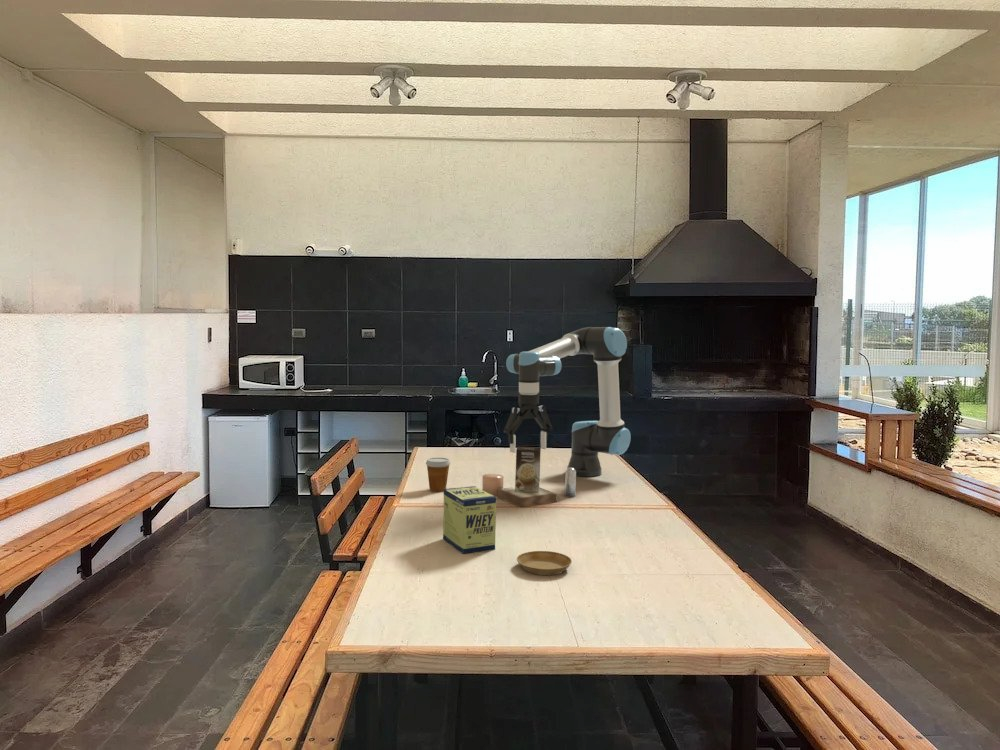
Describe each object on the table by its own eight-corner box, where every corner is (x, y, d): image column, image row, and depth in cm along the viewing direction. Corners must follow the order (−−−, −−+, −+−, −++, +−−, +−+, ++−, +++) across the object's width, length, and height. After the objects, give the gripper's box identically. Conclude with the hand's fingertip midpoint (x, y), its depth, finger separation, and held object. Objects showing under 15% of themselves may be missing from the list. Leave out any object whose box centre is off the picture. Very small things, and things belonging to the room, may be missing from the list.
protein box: (463, 554, 197) (464, 500, 196) (442, 539, 211) (442, 488, 210) (496, 549, 202) (497, 496, 201) (473, 534, 215) (474, 485, 214)
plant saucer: (516, 558, 195) (516, 549, 195) (569, 560, 194) (569, 551, 194) (516, 578, 180) (516, 568, 180) (573, 579, 180) (573, 569, 180)
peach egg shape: (496, 490, 273) (496, 473, 272) (507, 495, 266) (507, 477, 265) (478, 492, 268) (478, 475, 268) (488, 497, 262) (489, 479, 261)
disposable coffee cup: (421, 491, 269) (421, 460, 268) (432, 486, 278) (432, 456, 277) (443, 494, 265) (443, 462, 265) (454, 488, 274) (454, 458, 273)
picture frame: (532, 492, 271) (532, 484, 270) (556, 501, 257) (556, 493, 257) (497, 497, 262) (497, 488, 262) (520, 507, 249) (520, 498, 248)
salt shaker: (571, 494, 269) (571, 466, 268) (577, 496, 266) (578, 467, 265) (562, 495, 267) (563, 466, 266) (569, 497, 264) (569, 468, 263)
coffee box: (514, 492, 257) (515, 449, 256) (515, 488, 263) (516, 446, 262) (539, 493, 256) (540, 450, 255) (540, 489, 262) (540, 447, 261)
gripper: (550, 390, 266) (550, 445, 268) (494, 394, 253) (494, 451, 255) (562, 392, 260) (561, 448, 262) (505, 396, 247) (504, 455, 249)
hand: (528, 450), depth 259 cm, fingers open, 13 cm apart
